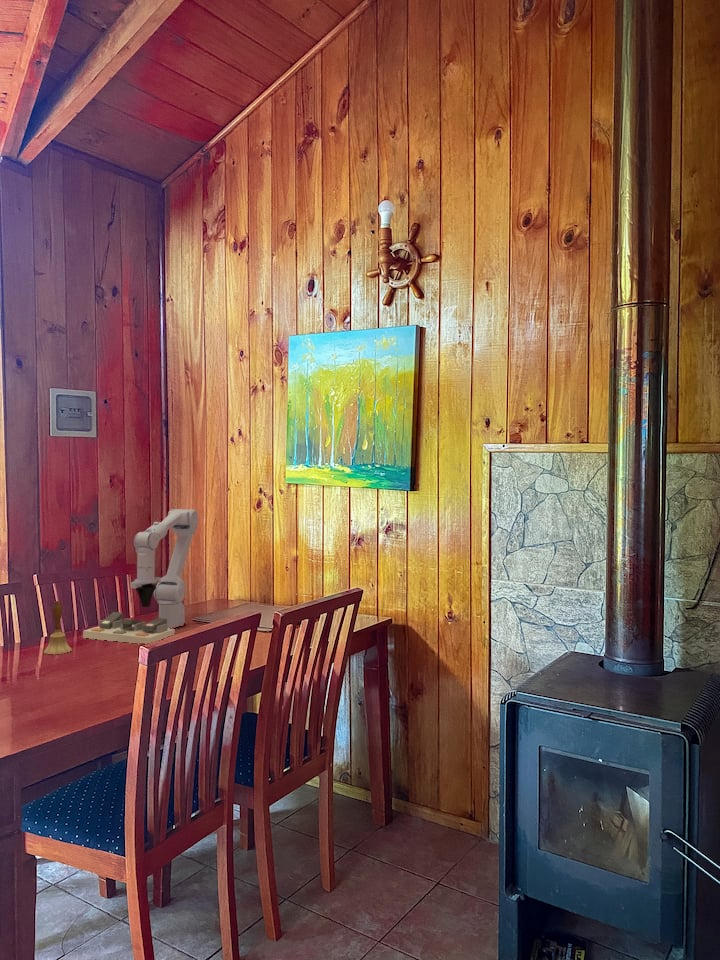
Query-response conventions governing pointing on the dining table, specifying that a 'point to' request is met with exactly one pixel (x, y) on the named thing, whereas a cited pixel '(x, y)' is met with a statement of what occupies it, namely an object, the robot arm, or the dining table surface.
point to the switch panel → (128, 633)
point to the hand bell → (57, 635)
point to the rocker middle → (130, 621)
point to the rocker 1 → (111, 620)
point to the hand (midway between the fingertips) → (145, 606)
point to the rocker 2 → (154, 624)
